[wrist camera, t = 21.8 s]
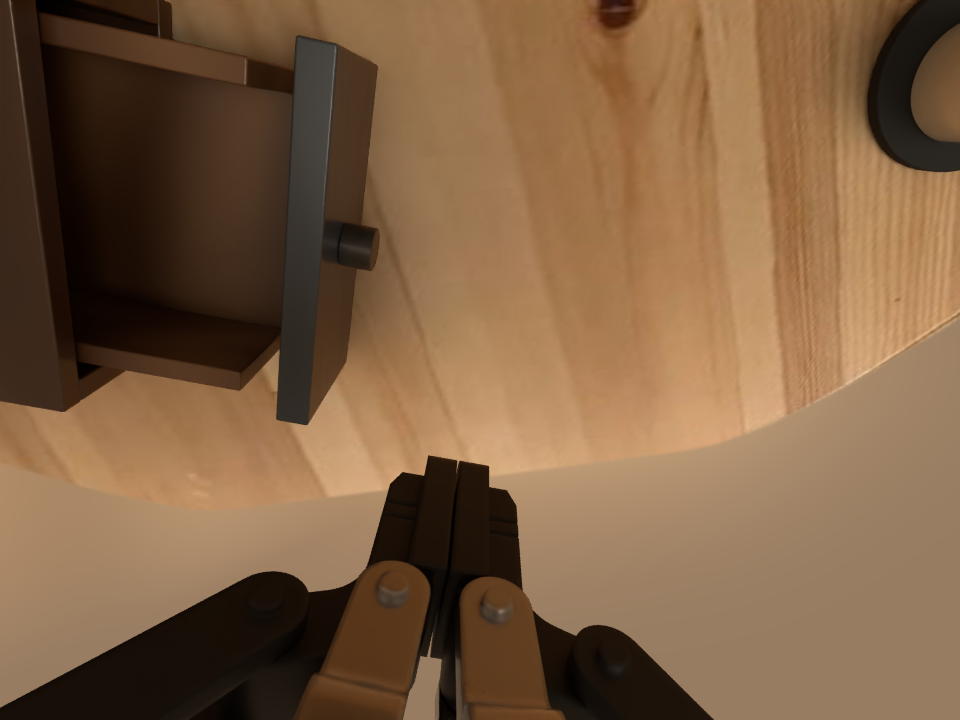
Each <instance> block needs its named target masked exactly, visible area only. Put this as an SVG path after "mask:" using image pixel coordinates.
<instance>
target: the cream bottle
mask: <svg viewBox="0 0 960 720" xmlns="http://www.w3.org/2000/svg"><path fill="white" fill-rule="evenodd" d="M910 102H911V110H912V114H913V117H914V120H915V122H916V124H917V125H918V127H919V128H920V129H921V130H922V131H923V132H924V133H925V134H926V135H927V136H929V137H931V138H932V139H934V140H937V141H940V142H946V143H960V23H959V24H957V25H956V26H954V27H953V28H951V29H950V30H949V31H947V32H946V33H945V34H944V35H943V36H942V37H940V38H939V39H938V40H937V41H936V43H935V44H934V45H933V46H932V47H931V48H930V50H929V51H928V52H927V54H926V55H925V57H924V58H923V60H922V61H921V63H920V65H919V67H918V69H917V72H916V74H915V77H914V80H913V84H912V89H911V100H910Z"/></svg>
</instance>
